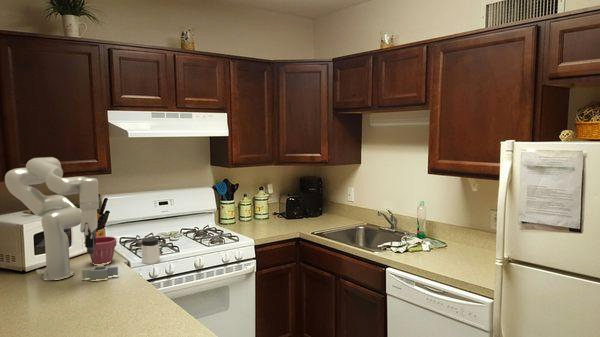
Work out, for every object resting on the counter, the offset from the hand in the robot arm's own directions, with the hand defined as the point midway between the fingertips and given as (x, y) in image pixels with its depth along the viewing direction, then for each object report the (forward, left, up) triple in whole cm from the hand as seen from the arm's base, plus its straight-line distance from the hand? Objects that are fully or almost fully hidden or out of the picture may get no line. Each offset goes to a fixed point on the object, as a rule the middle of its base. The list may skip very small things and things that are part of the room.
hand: (90, 245), depth 187 cm
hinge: (+3, +5, -17) cm, 18 cm away
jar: (+23, +27, -17) cm, 39 cm away
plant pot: (-1, +30, -17) cm, 34 cm away
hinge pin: (0, 0, -3) cm, 3 cm away
